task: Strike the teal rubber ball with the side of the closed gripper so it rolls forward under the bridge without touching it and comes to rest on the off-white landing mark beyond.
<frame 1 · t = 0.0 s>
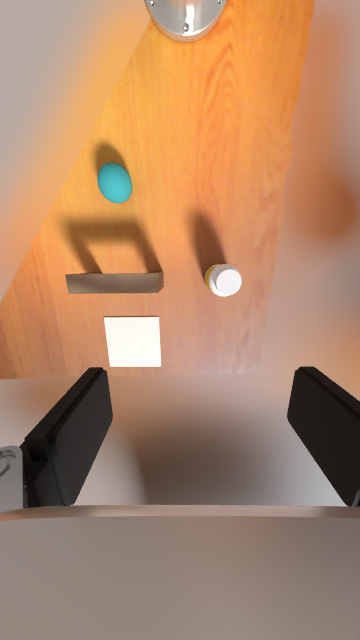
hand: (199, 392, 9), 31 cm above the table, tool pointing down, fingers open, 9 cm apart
ball: (115, 184, 31), on the table
bridge: (128, 279, 38), on the table
supplement bottle: (217, 278, 38), on the table
landing mark: (133, 342, 42), on the table
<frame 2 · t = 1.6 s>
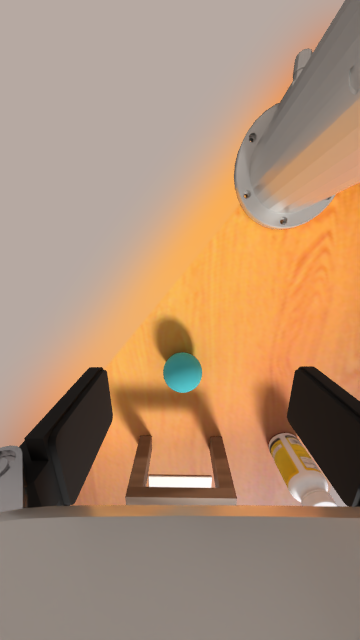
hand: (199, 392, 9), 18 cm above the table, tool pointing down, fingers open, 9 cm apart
ball: (182, 371, 27), on the table
bridge: (180, 442, 33), on the table
supplement bottle: (282, 442, 34), on the table
landing mark: (179, 498, 37), on the table
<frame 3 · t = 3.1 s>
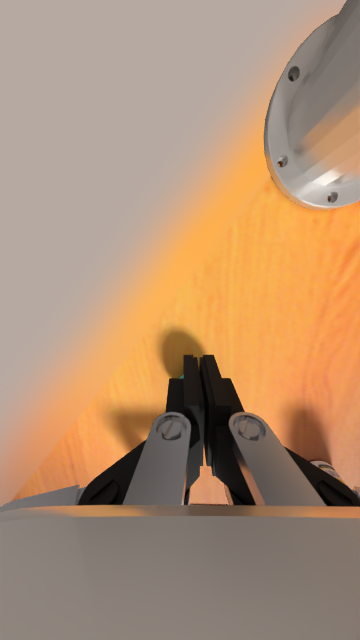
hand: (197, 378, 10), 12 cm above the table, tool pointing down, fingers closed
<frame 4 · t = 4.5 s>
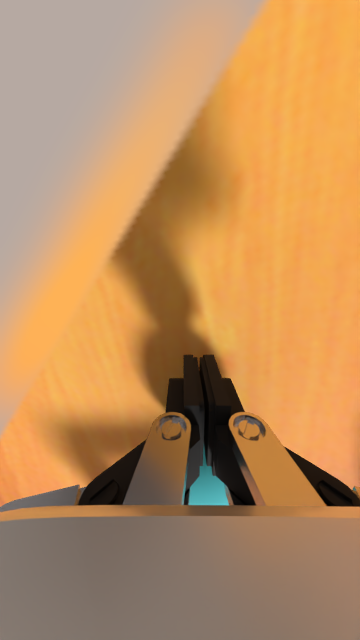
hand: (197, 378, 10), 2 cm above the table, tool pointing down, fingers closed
ball: (205, 446, 11), on the table
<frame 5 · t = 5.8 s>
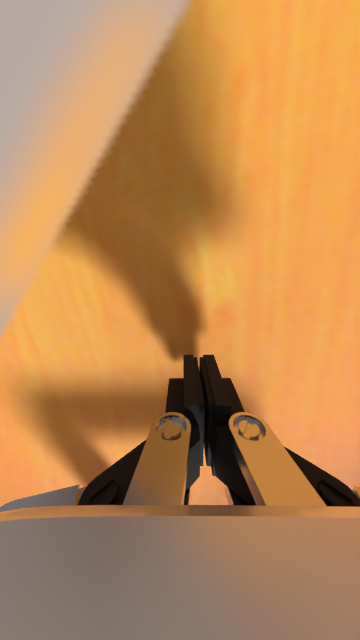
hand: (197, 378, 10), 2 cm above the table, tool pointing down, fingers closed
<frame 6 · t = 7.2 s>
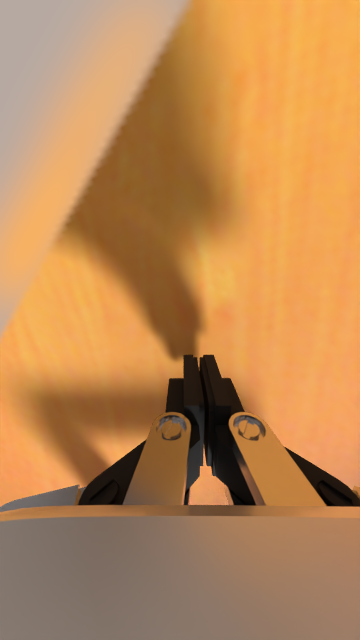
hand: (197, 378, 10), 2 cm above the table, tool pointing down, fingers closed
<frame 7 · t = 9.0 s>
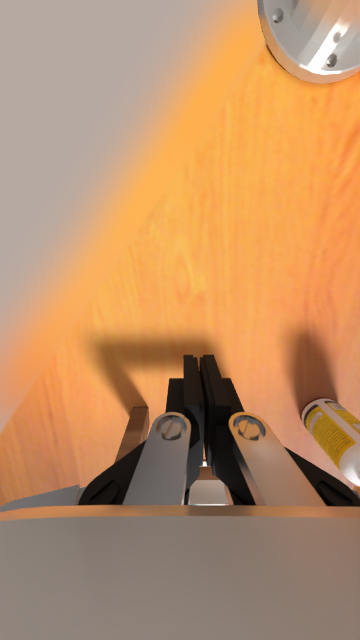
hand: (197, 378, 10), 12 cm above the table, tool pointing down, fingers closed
bridge: (186, 415, 26), on the table
supplement bottle: (318, 412, 26), on the table
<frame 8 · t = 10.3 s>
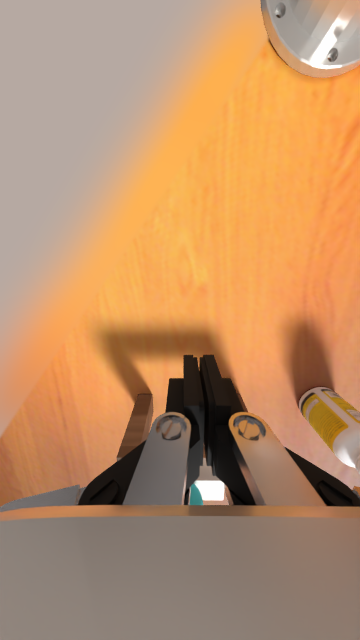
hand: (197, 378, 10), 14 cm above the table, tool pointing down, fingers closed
ball: (185, 503, 29), on the table
bridge: (188, 402, 27), on the table
supplement bottle: (315, 400, 27), on the table
landing mark: (188, 473, 31), on the table
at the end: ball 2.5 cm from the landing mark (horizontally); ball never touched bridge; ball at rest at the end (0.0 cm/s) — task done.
